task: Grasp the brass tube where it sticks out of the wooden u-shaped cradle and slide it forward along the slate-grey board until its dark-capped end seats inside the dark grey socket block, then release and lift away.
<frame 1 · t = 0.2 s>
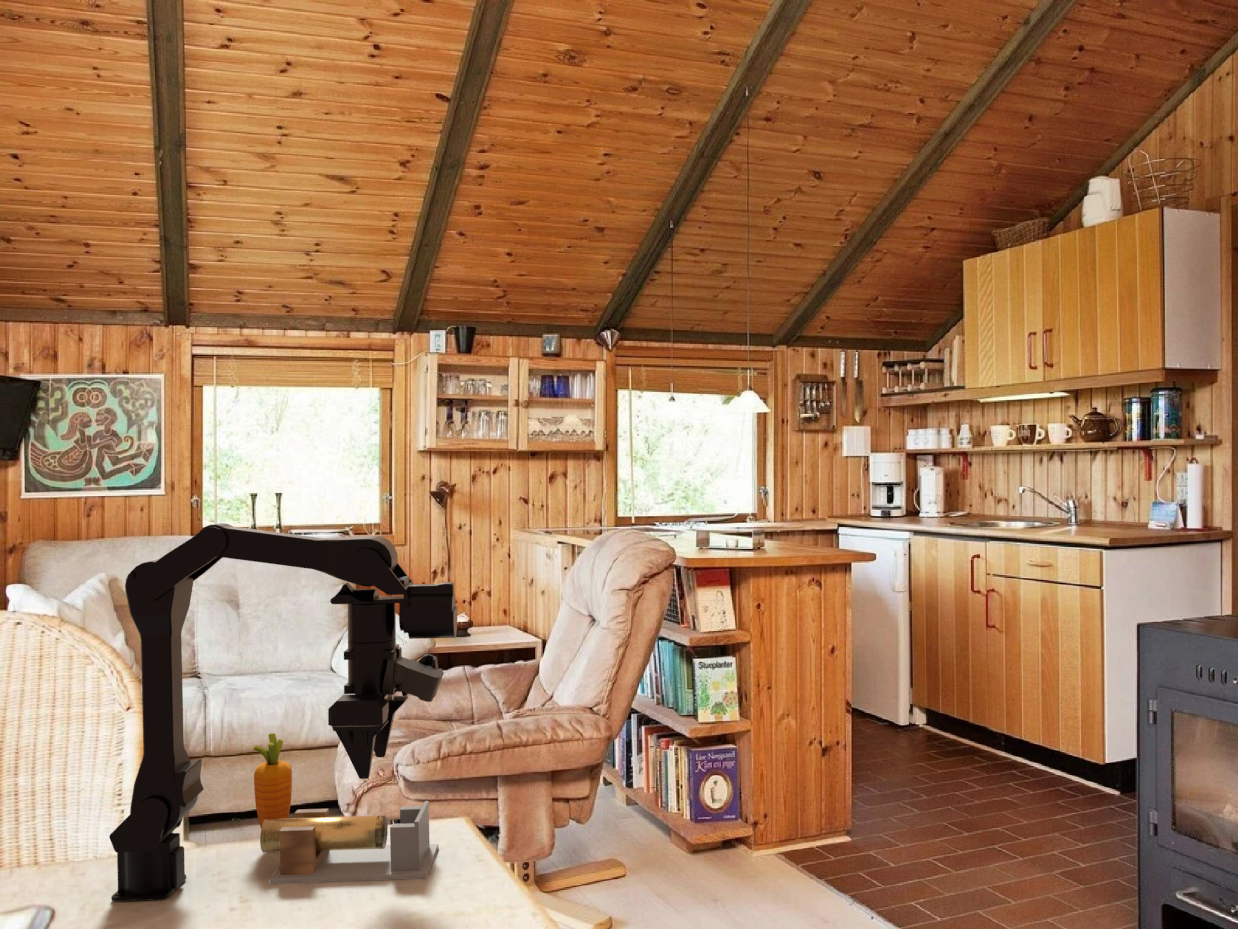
hand: (372, 767, 127), 14 cm above the table, fingers open, 9 cm apart
carrot: (274, 849, 139), on the table
socket: (410, 863, 132), resting on board
board: (357, 865, 132), on the table
tube: (324, 834, 132), point 4 cm above the table, slide at 0.0 cm
wooden u-shaped cradle: (305, 867, 132), resting on board
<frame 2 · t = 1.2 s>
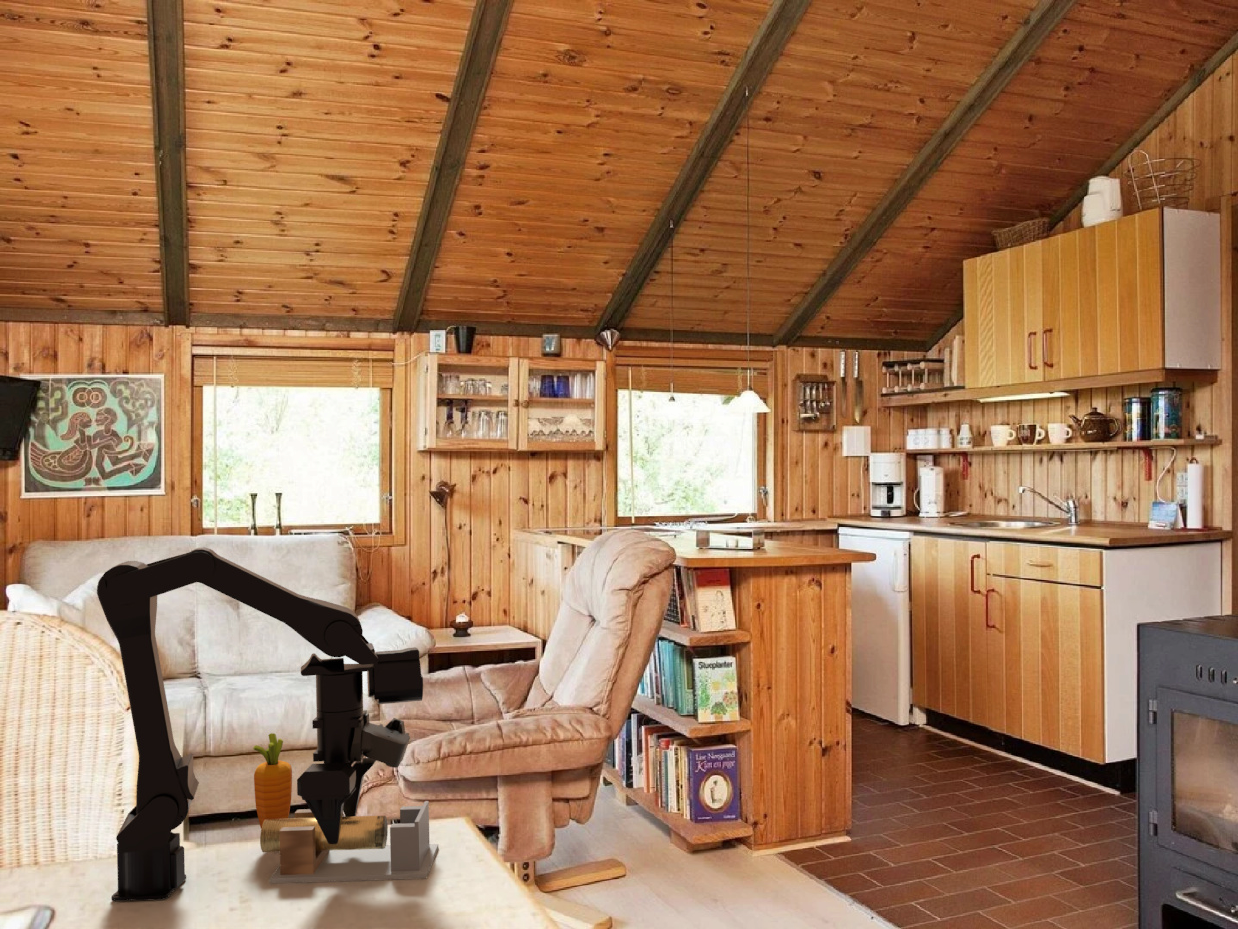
hand: (342, 830, 132), 4 cm above the table, fingers open, 9 cm apart
nothing on the table moved.
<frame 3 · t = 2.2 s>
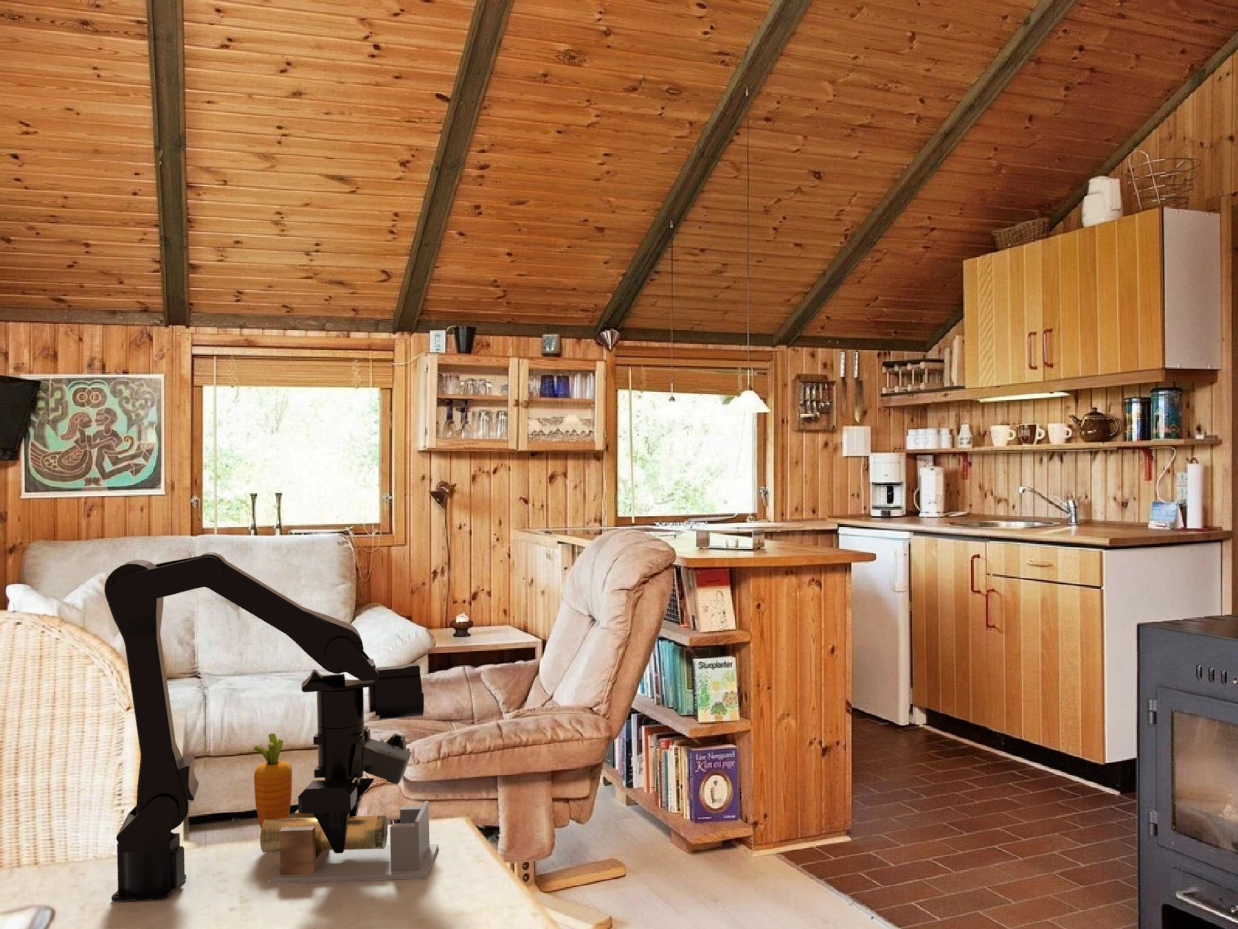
hand: (343, 846, 132), 2 cm above the table, fingers closed on tube, 4 cm apart
tube: (324, 834, 132), point 4 cm above the table, slide at 0.0 cm, touching gripper
everything else where it was.
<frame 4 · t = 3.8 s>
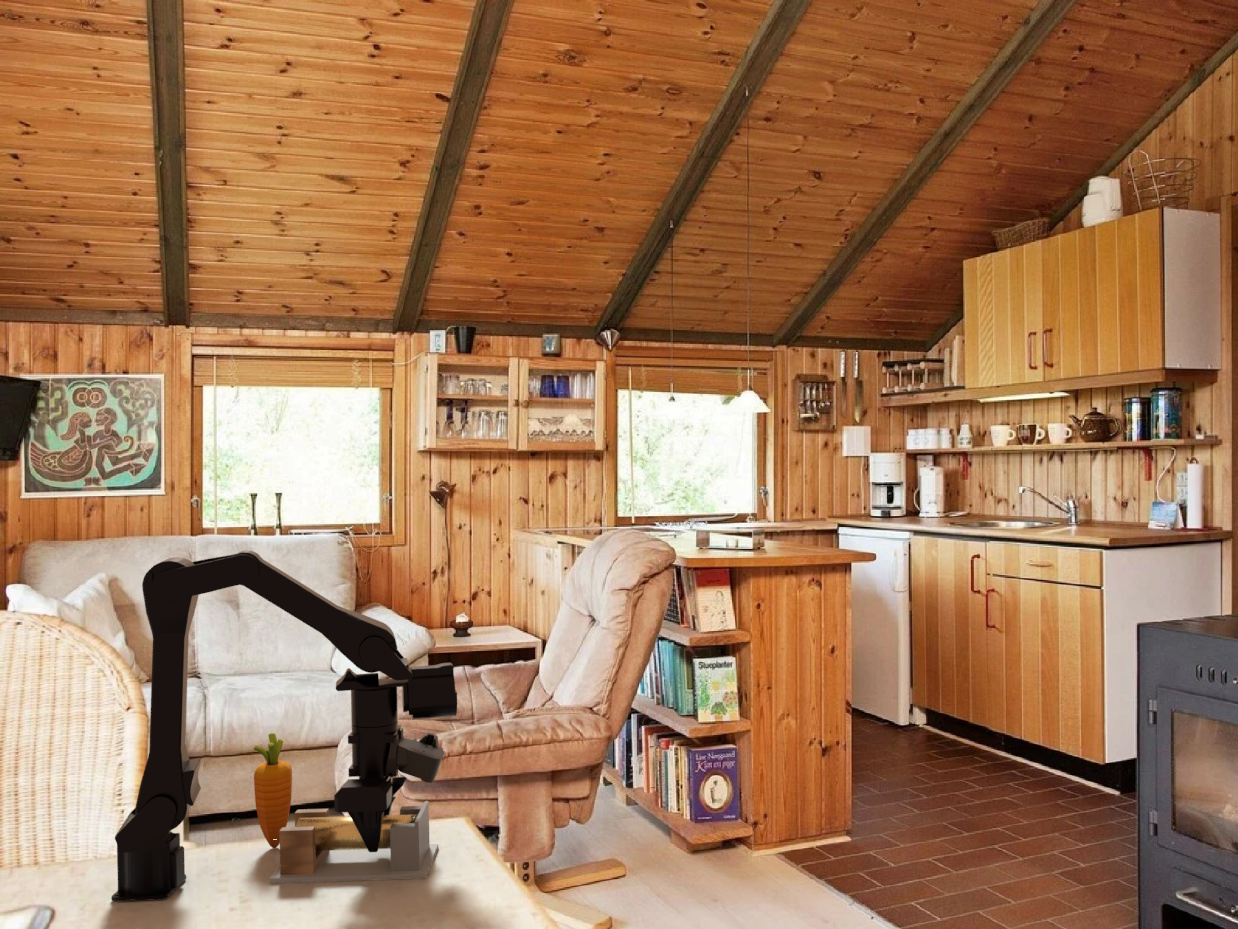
hand: (377, 845, 132), 2 cm above the table, fingers closed on tube, 4 cm apart
tube: (358, 832, 132), point 4 cm above the table, slide at 4.2 cm, touching gripper
everything else where it was.
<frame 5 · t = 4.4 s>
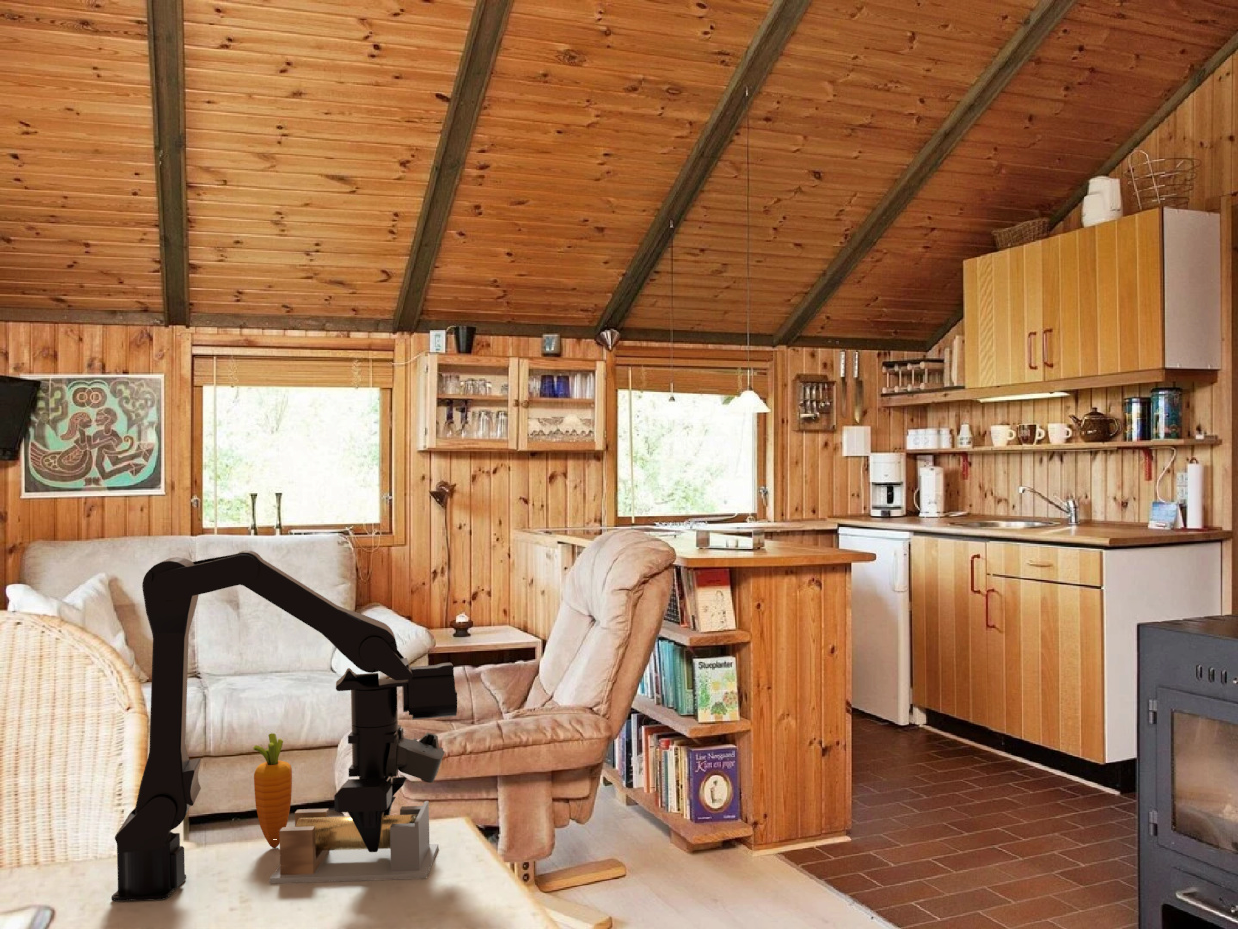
hand: (377, 845, 132), 2 cm above the table, fingers closed on tube, 4 cm apart
tube: (358, 832, 132), point 4 cm above the table, slide at 4.2 cm, touching gripper
everything else where it was.
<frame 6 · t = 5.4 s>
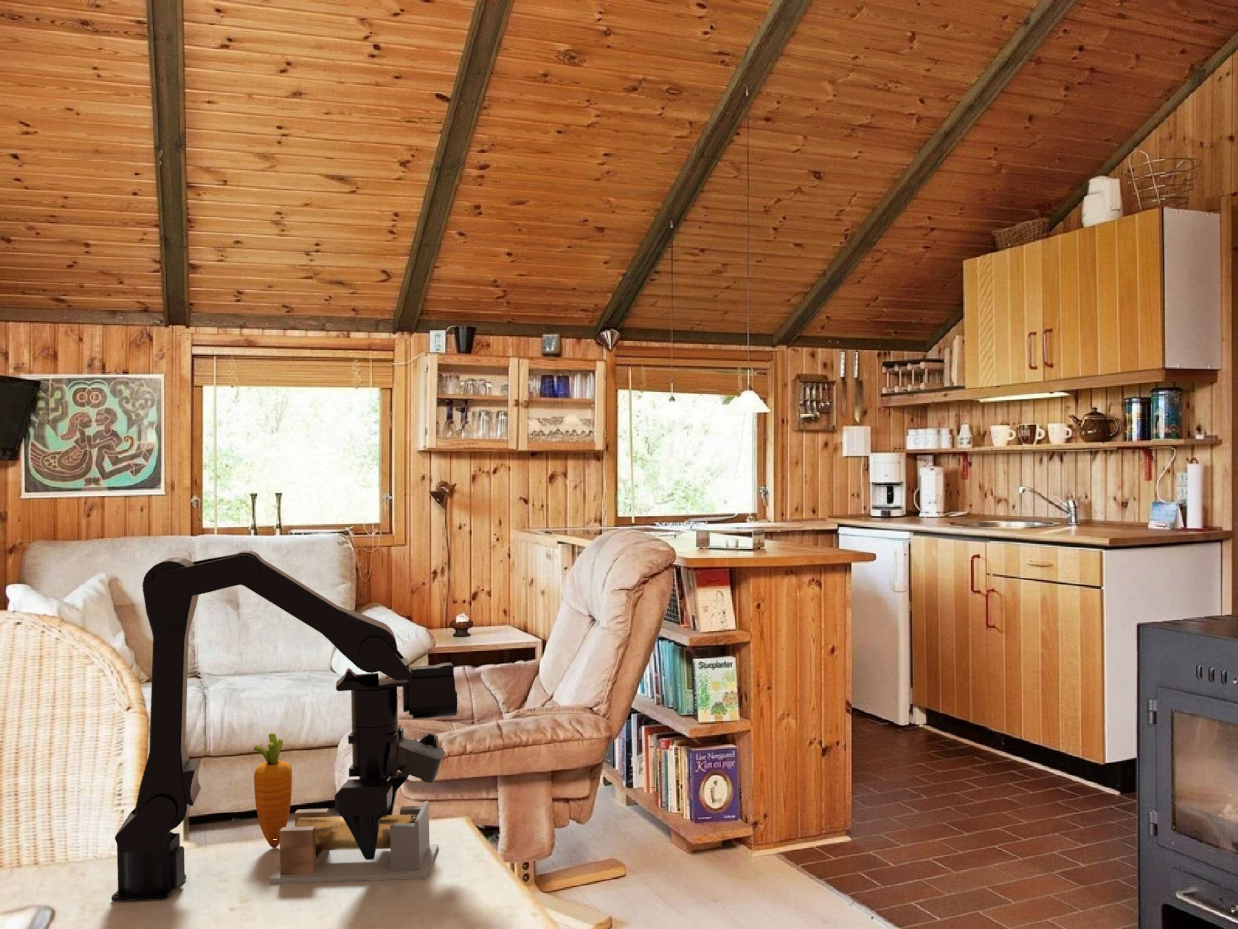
hand: (377, 845, 132), 2 cm above the table, fingers open, 9 cm apart
tube: (358, 832, 132), point 4 cm above the table, slide at 4.3 cm
everything else where it was.
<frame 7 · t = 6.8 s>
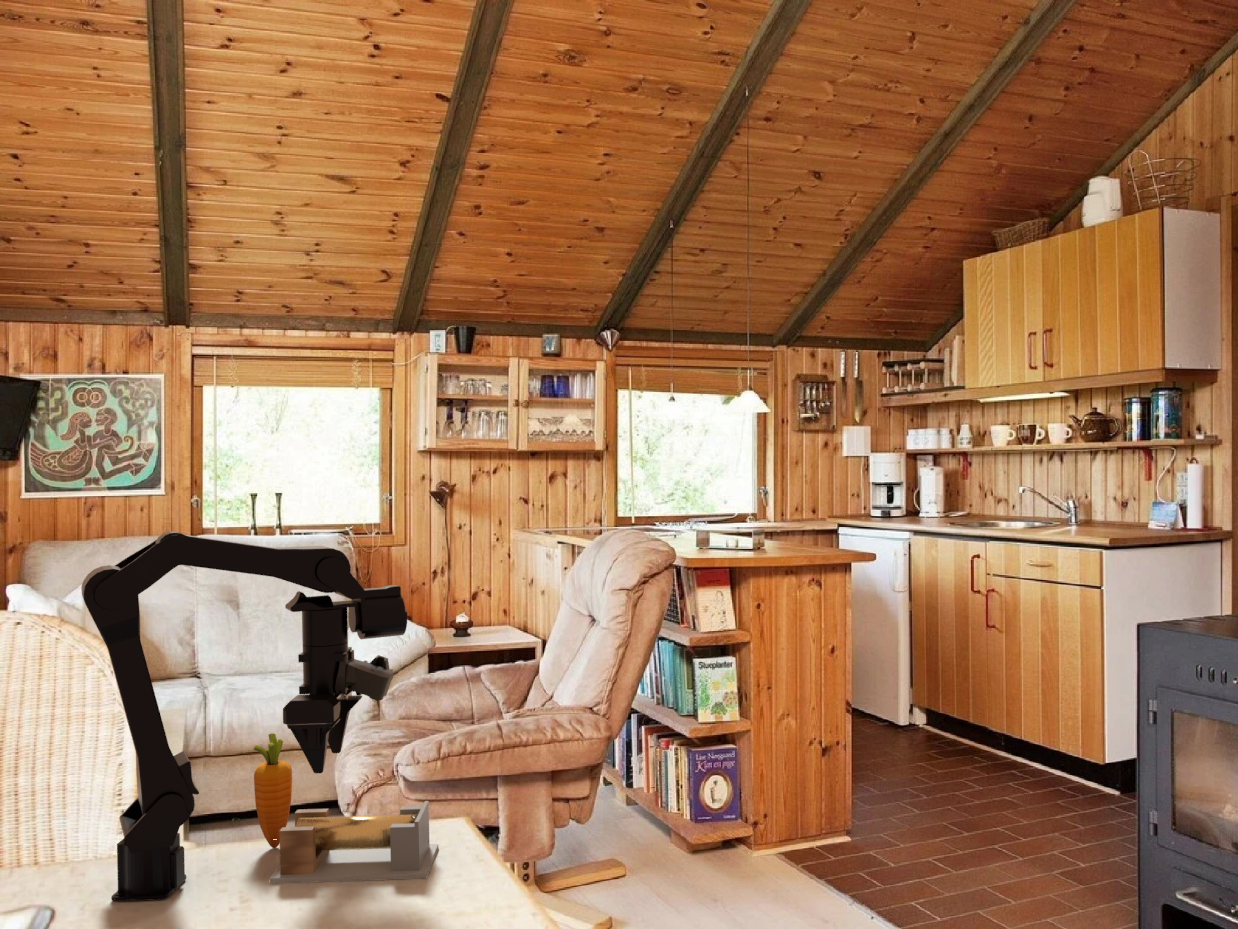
hand: (327, 762, 136), 12 cm above the table, fingers open, 9 cm apart
nothing on the table moved.
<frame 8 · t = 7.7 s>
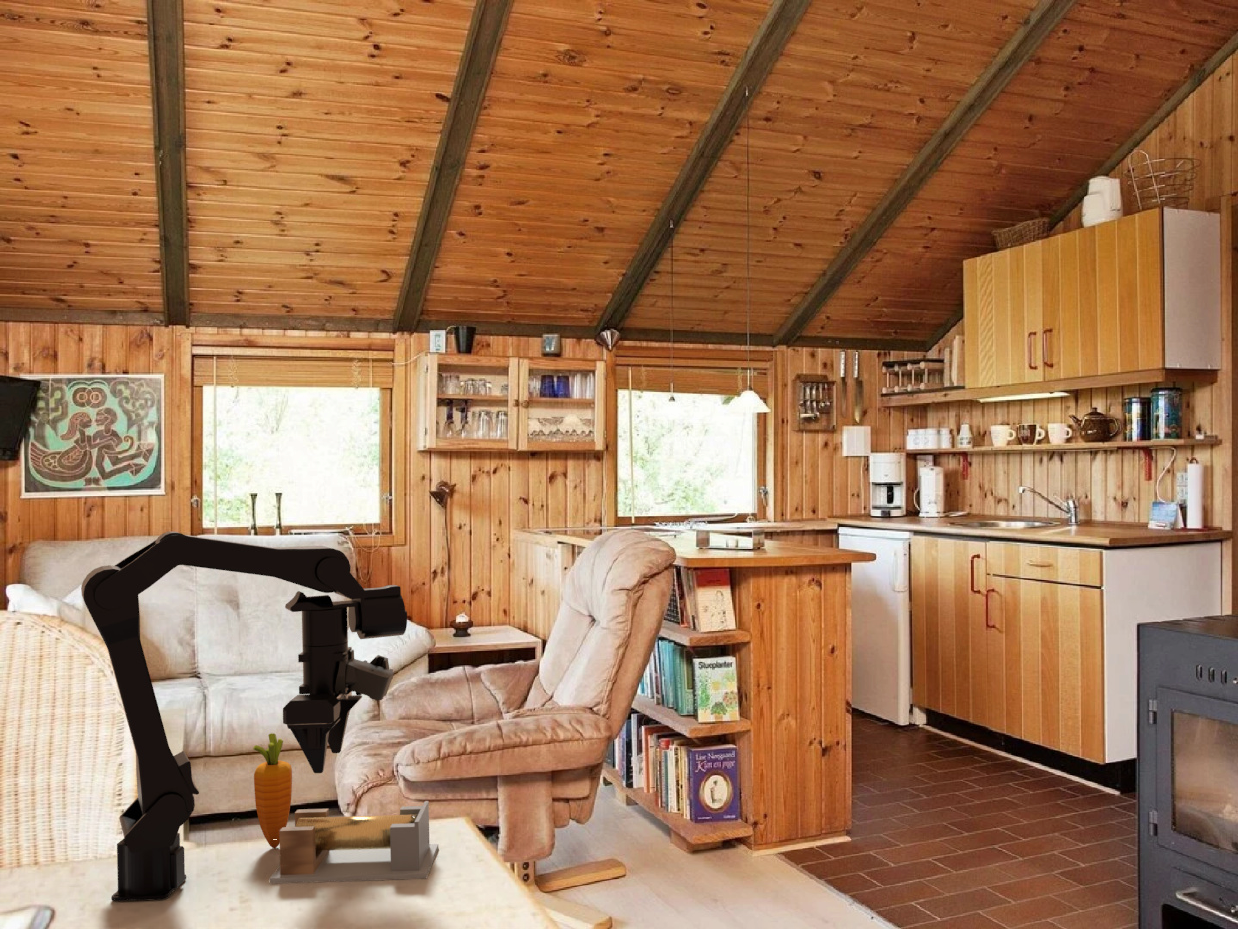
hand: (327, 762, 136), 12 cm above the table, fingers open, 9 cm apart
nothing on the table moved.
at the end: tube slide at 4.3 cm; the gripper is holding nothing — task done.
